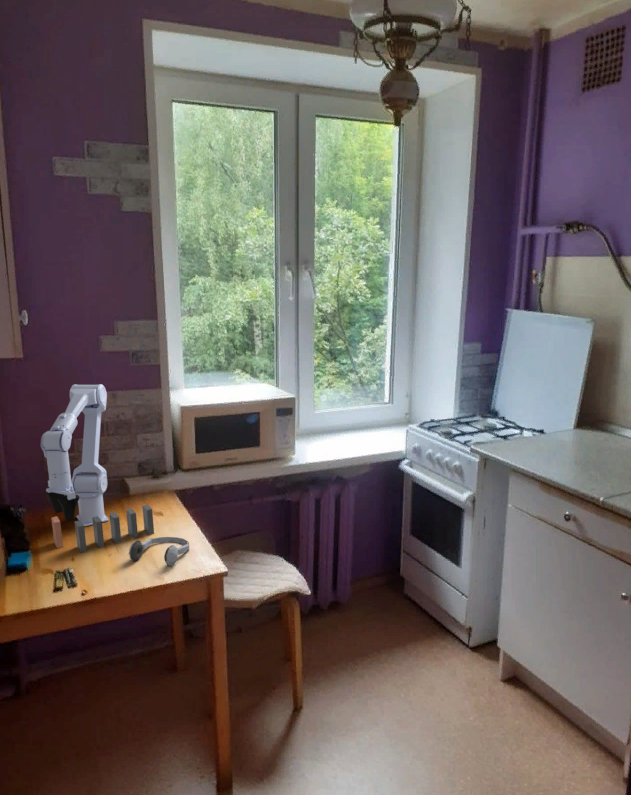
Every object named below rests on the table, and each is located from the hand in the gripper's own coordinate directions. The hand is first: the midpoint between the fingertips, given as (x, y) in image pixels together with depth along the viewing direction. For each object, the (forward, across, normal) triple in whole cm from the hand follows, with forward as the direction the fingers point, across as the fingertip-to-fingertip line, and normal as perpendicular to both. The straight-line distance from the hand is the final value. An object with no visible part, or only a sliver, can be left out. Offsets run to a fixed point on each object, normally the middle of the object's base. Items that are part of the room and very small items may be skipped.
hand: (64, 515), depth 176 cm
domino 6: (+10, +9, +22) cm, 25 cm away
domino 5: (+10, +8, +17) cm, 21 cm away
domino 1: (+10, -3, -2) cm, 10 cm away
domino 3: (+10, +6, +7) cm, 13 cm away
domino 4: (+10, +7, +12) cm, 17 cm away
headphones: (+10, +24, +15) cm, 30 cm away
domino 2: (+10, +5, +2) cm, 11 cm away
